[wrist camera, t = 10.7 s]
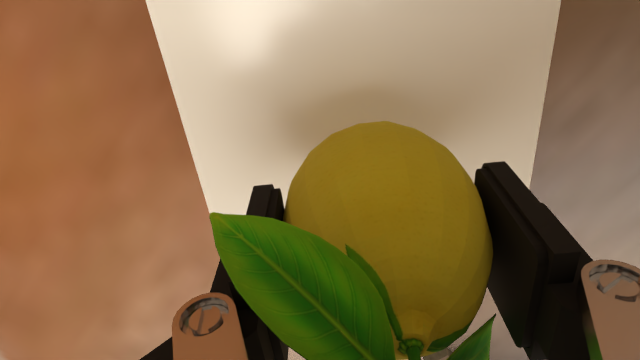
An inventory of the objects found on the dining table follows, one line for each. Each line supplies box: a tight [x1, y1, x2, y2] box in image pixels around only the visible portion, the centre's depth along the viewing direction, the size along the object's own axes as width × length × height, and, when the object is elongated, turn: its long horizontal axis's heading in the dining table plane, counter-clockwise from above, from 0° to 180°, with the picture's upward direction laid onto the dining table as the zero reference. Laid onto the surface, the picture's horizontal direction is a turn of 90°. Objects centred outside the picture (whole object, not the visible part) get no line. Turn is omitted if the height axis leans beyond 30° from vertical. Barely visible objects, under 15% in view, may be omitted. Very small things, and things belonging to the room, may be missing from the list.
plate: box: [146, 0, 561, 215], centre depth 17 cm, size 14×14×1 cm
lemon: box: [210, 121, 496, 360], centre depth 10 cm, size 7×6×10 cm
